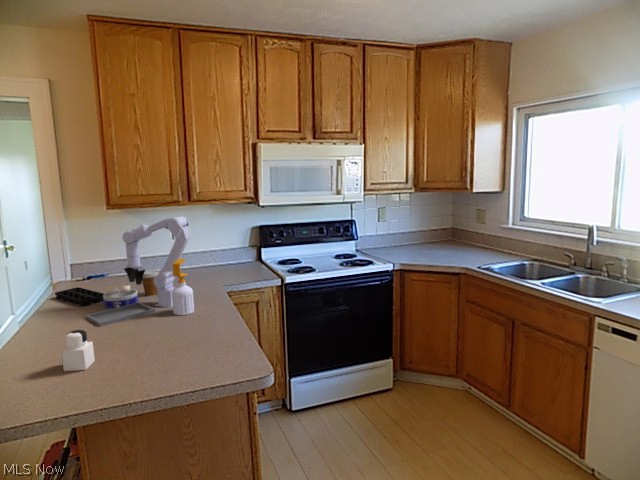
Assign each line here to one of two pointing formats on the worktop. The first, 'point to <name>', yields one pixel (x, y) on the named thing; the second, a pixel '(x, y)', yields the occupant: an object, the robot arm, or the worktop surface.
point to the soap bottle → (181, 293)
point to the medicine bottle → (77, 351)
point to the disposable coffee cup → (149, 282)
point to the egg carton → (80, 296)
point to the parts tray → (119, 314)
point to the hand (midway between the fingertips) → (135, 283)
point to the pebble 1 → (112, 290)
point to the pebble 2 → (125, 289)
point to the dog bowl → (120, 299)
